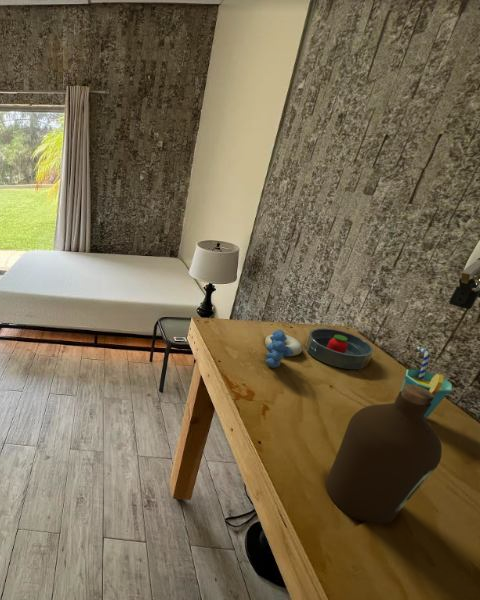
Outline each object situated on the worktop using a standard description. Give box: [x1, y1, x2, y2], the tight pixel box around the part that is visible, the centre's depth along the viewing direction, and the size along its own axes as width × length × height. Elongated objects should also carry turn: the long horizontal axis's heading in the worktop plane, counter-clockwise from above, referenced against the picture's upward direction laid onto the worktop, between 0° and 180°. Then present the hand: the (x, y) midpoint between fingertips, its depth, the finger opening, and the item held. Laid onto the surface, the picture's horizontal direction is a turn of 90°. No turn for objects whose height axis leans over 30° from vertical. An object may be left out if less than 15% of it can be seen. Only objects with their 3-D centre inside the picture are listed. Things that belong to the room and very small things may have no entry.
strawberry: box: [327, 335, 348, 353], centre depth 95 cm, size 4×4×6 cm
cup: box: [400, 346, 453, 420], centre depth 72 cm, size 14×8×15 cm, turn 156°
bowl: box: [304, 327, 375, 370], centre depth 95 cm, size 15×15×5 cm
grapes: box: [265, 329, 293, 368], centre depth 89 cm, size 12×7×12 cm, turn 152°
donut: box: [264, 333, 303, 357], centre depth 99 cm, size 10×4×10 cm
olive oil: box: [325, 384, 443, 524], centre depth 51 cm, size 11×11×25 cm
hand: (473, 302), depth 68 cm, fingers open, 9 cm apart
